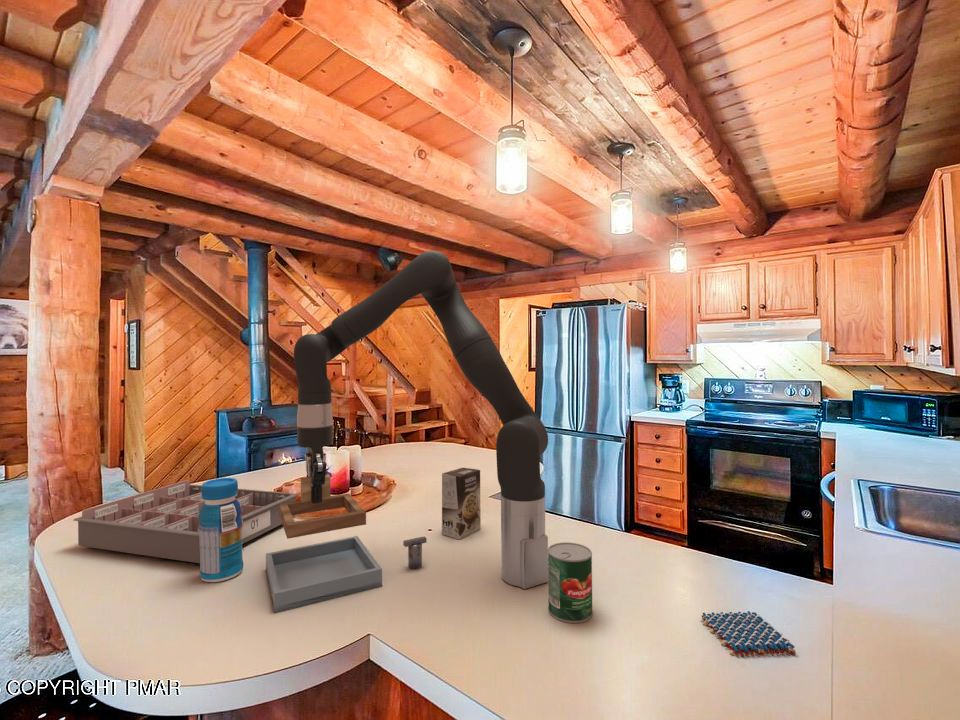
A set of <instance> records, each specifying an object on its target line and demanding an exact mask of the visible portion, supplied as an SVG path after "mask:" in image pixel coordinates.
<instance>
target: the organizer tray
mask: <svg viewBox="0 0 960 720" xmlns="http://www.w3.org/2000/svg"><path fill="white" fill-rule="evenodd" d="M190 480H191V479H186V480H185V479H184V480H182V481H179V482H175V483H171V484H169V485H165V486H162V487H158V488H155V489H151V490H147V491H145V492H144V491H143V492H141V493H136V494H135V495H130V496H127V497H123V498H120V499H116V500H113V501H109V502H105V503H103V504H99V505H96V506H93V507H88V508H85V509H82V510H81V516H78V517H76V518H73V520H72V521H74V522H77V529H78V530H77V534H78V536H77V537H78V538H77V539H78V542H77V543H78V544H77V545H78V546H80V547H84V548H85V547H86V548H93V549H99V550H105V551H107V550H108V551H114V552H121V553H127V554H135V555H141V556H148V557H155V558H161V559H167V560H176V561H181V562H189V563H195V564H200V538H199V534H198V526H199V524H200V520H199V519H198V515H199V512H200V510H201V508H202V506H203V504H204V503H205V501H204V500H203V498H202V484H201V485H199V484H190V483H191V481H190ZM298 495H299V493H296V492H295V493H293V492H282V491H270V490H268V491H267V490H261V489H260V490H259V489H249V488H248V489H247V488H238V493H237V496H235V498H236V499H237V500H238V502H239V503H240V505H241V507H242V513H241V517H242V519H243V527H242V545H243V544H245V543H247V542H249V541H251V540H253V539H255V538H257V537H259V536H261V535H263V534H265V533H266V532H269V531H271V530H273V529H275V528H278V527H279V526H281V525H282V522H281V519H280V516H279V504H281V503H288V502H295V501H296V497H297V496H298ZM292 517H293V519H294V518H296V515H292Z"/></svg>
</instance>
